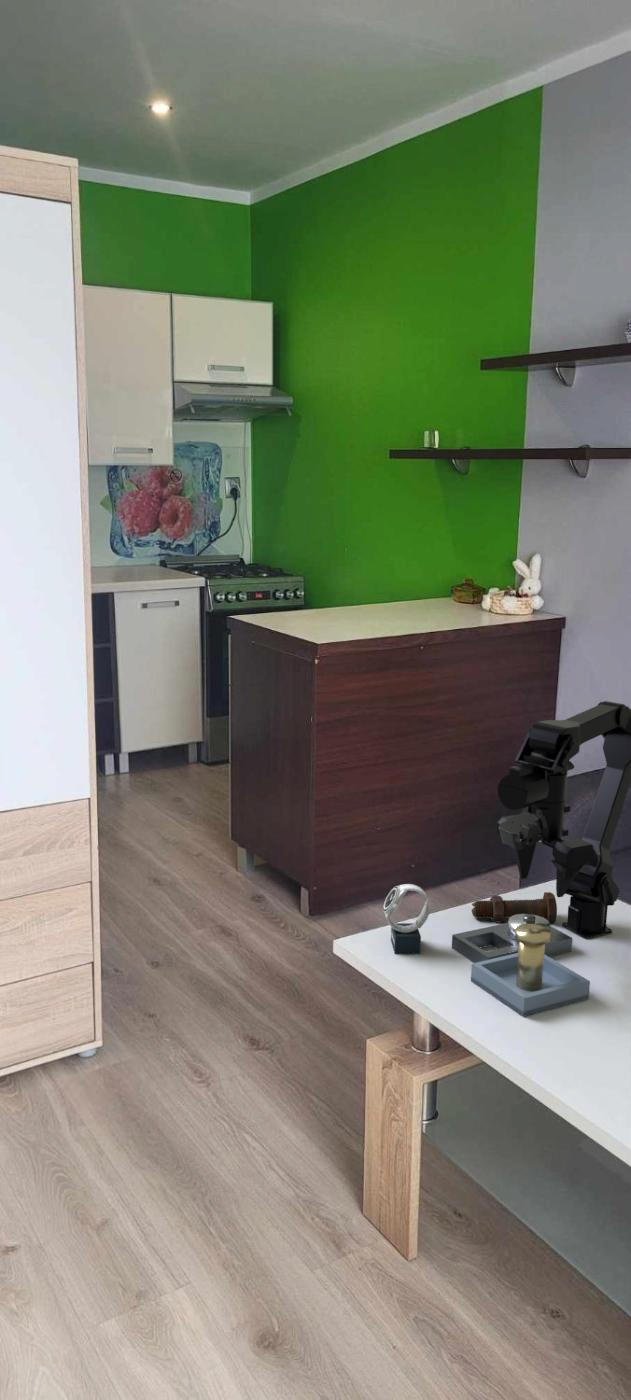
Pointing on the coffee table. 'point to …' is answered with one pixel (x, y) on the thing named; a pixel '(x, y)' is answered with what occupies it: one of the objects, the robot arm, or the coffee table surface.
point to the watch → (405, 934)
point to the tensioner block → (507, 939)
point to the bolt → (516, 908)
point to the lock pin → (531, 955)
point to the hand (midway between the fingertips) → (541, 887)
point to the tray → (555, 991)
